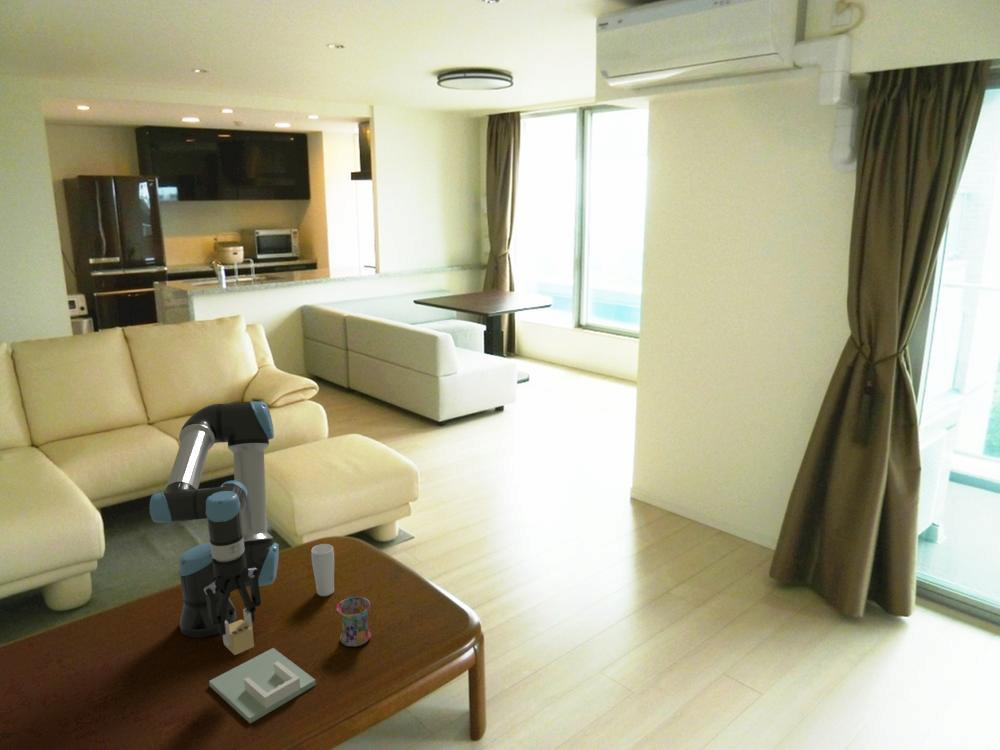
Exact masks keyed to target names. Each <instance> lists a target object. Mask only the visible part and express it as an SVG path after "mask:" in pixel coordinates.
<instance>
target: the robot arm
mask: <svg viewBox="0 0 1000 750" xmlns="http://www.w3.org/2000/svg"><path fill="white" fill-rule="evenodd" d="M274 437H275V432H274V424H273V421H272V415H271V412H270V409H269V406H268V404H267V402H264V401H241V402H240V401H239V402H229V403H213V404H210V405H209V404H208V405H206V406H205V407H203V408H201V409H199V410H197V411H196V412H195V413H194V414H193V415H190V417H189V418H188V419H187V420H186V422H185V423H184V424H183V426H182V427H181V429H180V432H179V437H178V441H179V448H178V450H177V454H176V455H175V456H176V457H175V460H174V463H173V465H172V468H171V472H170V475H169V478H168V480H167V484H166V487H165V490H164V491H161V492H160V491H159V492H155V493H154V494H152V495H151V497H150V498H149V499H150V500H149V514H150V518H151V520H152V521H153V522H154V523H156V524H161V523H162V524H164V523H171V524H172V523H177V522H178V523H179V522H185V521H194V520H206V519H207V528H208V534H209V542H204V543H200V544H198V545H195V546H193V547H191V548H189V549H188V550H186V551H185V552H183V553H182V555H181V556H180V558H179V561H178V565H179V566H178V569H179V571H178V573H179V577H180V586H181V592H182V598H183V600H182V601H183V606H182V611H181V615H180V619H179V627H180V631H181V633H182V634H183V635H184V636H186V637H188V638H191V639H193V638H194V639H197V638H198V639H201V638H208V637H212V636H216V635H219V634H220V635H221V636H222V641H223V644H224V643H225V644H226V645H227V646H228V647H230V646H231V640H230V631H229V624H231V623H234V622H236V621H237V610H236V607H235V606H234V604H233V601H232V599H231V598H230V597H231V593H232V592H234V591H235V590H237V591H238V593H239V595H240V597H241V600H242V602H243V604H244V606H245V608H243V609H242V614H243V621H244V622H245V623H247V624H248V625H249V626H250V627H251V628H252V629H253V622H255V621H256V620H255V619H256V618H255V617H256V615H255V613H256V610H257V609H256V608H257V607H260V606H261V604H262V601H261V593H260V587H262V586H263V587H264V586H269V585H272V584H273V583H274V582H275V580H276V578H277V573H278V567H279V558H280V557H279V556H280V552H279V548H280V545H279V544H278V543H277V542H274V538H273V536H272V535H271V534H270V533H269V532H268V523H267V522H268V521H267V499H266V496H267V495H266V494H267V493H266V476H265V475H266V474H265V471H266V470H265V450H266V449H267V448H268V447H269V446H270V440H272V439H274ZM218 443H219V444H220V443H227V449H228V450H229V451H231V452H232V453H233V473H234V474H233V475H234V477H233V478H234V479H233V480H227V481H225V482H224V483H222V484H221V485H220V486H219V487H218V486H216V487H207V488H199V486H200V483H201V479H202V475H203V473H204V472H203V471H204V467H205V465H206V464H205V463H206V460H207V458H208V454H209V450H211V448H213V446H214V444H218ZM248 588H249V589H250V590H249V591H250V594H249V593H248V590H247V589H248ZM250 595H251V597H250Z"/></svg>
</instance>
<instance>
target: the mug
mask: <svg viewBox="0 0 1000 750" xmlns="http://www.w3.org/2000/svg"><path fill="white" fill-rule="evenodd" d="M370 608H371V602H370V600H369V599H368V598H365V597H362V596H351V597H346V598H345V599H342V600H341V601H339V602H338V603H337V605H336V607H335V610H336V612H337V614H338V615H339V617H340V620H341V626H342V627H341V628H342V629H341V631H342V632H341V634H340V637H339V641H340V642H341V644H343V645H344V646H347V647H354V648H355V647H359V646H362V645H364V644H366V643H367V642H369V640H370V639H371V637H372V633H371V630H370V629H369V627H368V622H367V620H368V614H369V611H370Z"/></svg>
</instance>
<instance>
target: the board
mask: <svg viewBox="0 0 1000 750" xmlns="http://www.w3.org/2000/svg"><path fill="white" fill-rule="evenodd" d="M208 683H209V687H210V688H211V689H212V690H213V691H214V692H215V693H216V694H218V695H219V696H220V697H221V698H222V699H223V700H224V701H225V702H226V703H227V704H228V705H229V706H230V707H231V708H232V709H233V710H235V711H236V712H237V713H238V715H240V716H241V717H242V718H243V719H244V720H246V722H248V723H249V724H251V723H254V722H256V721H257V720H259V719H261V718H262V717H264V716H265V715H267V714H269V713H271V712H272V711H275V710H276V709H278V708H279V707H281V706H283V705H284V704H286V703H288V702H289V701H291V700H293V699H294V698H296V697H298V696H299V695H301V694H303V693H305V692H306V691H308V690H309V689H312V688H313V687H315V686H316V685H317V684H316V683H317V681H316V679H315V678H313V677H312V675H310V674H309V673H307V672H306V671H305V670H303V669H302V668H300V666H298V665H297V664H295V663H294V662H293V661H292V660H290V659H289V658H288V657H286V656H285V655H284V654H282V653H281V652H279V651H278V650H277V649H276V648H274V647H272V648H270V649H267V650H266V651H264V652H263V653H260V654H258V655H256V656H254V657H253V658H251V659H249V660H247V661H245V662H243V663H241V664H238V665H237V666H235V667H233V668H231V669H230V670H228V671H225V672H224V673H222V674H220V675H218V676H216V677H214V678H212V679H210V680H209V681H208Z"/></svg>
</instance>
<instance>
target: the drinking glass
mask: <svg viewBox="0 0 1000 750" xmlns="http://www.w3.org/2000/svg"><path fill="white" fill-rule="evenodd" d="M310 552H311V555H310V556H311V557H310V558H311V565H312V570H313V575H314V581H315V586H316V593H317V595H318V596H320V597H328V596H330V595H332V594H333V593H334V592H335V550H334V546H333V545H331V544H328V543H320V544H317V545H315V546H313V547H312V548H311V551H310Z"/></svg>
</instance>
